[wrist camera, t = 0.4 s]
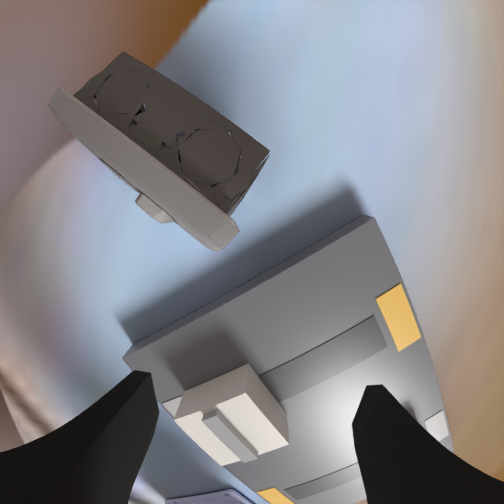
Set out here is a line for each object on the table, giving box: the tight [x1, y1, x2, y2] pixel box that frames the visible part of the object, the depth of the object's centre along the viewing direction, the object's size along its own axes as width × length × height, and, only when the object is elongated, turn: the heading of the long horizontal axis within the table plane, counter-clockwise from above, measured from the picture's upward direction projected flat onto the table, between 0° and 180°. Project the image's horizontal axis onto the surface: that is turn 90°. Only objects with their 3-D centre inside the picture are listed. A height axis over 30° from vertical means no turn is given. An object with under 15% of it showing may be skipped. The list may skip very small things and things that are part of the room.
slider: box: [174, 363, 289, 466], centre depth 17 cm, size 5×5×4 cm
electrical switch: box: [48, 52, 270, 252], centre depth 13 cm, size 9×5×9 cm, turn 51°
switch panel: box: [122, 214, 454, 504], centre depth 20 cm, size 18×26×2 cm
